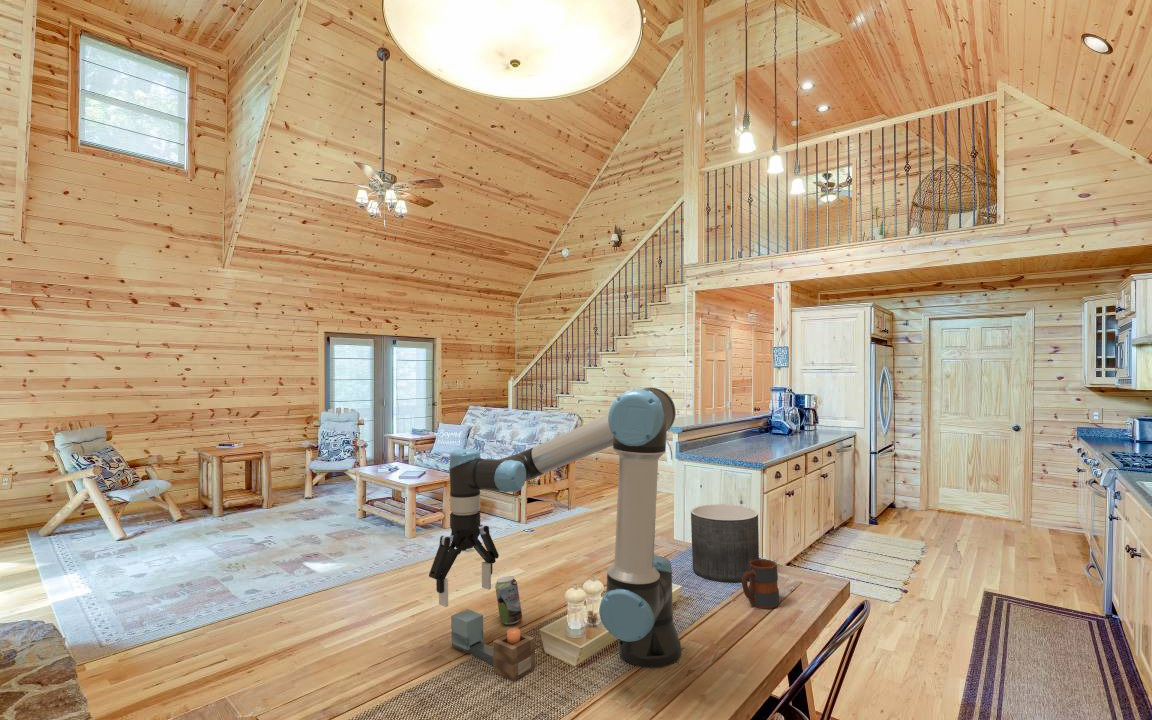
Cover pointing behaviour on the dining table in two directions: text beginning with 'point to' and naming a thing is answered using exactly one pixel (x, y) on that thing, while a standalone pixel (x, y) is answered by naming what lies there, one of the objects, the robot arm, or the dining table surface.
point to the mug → (762, 584)
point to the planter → (724, 541)
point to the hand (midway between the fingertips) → (465, 596)
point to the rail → (479, 651)
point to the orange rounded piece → (513, 636)
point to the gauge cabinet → (514, 657)
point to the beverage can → (508, 600)
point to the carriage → (467, 628)
